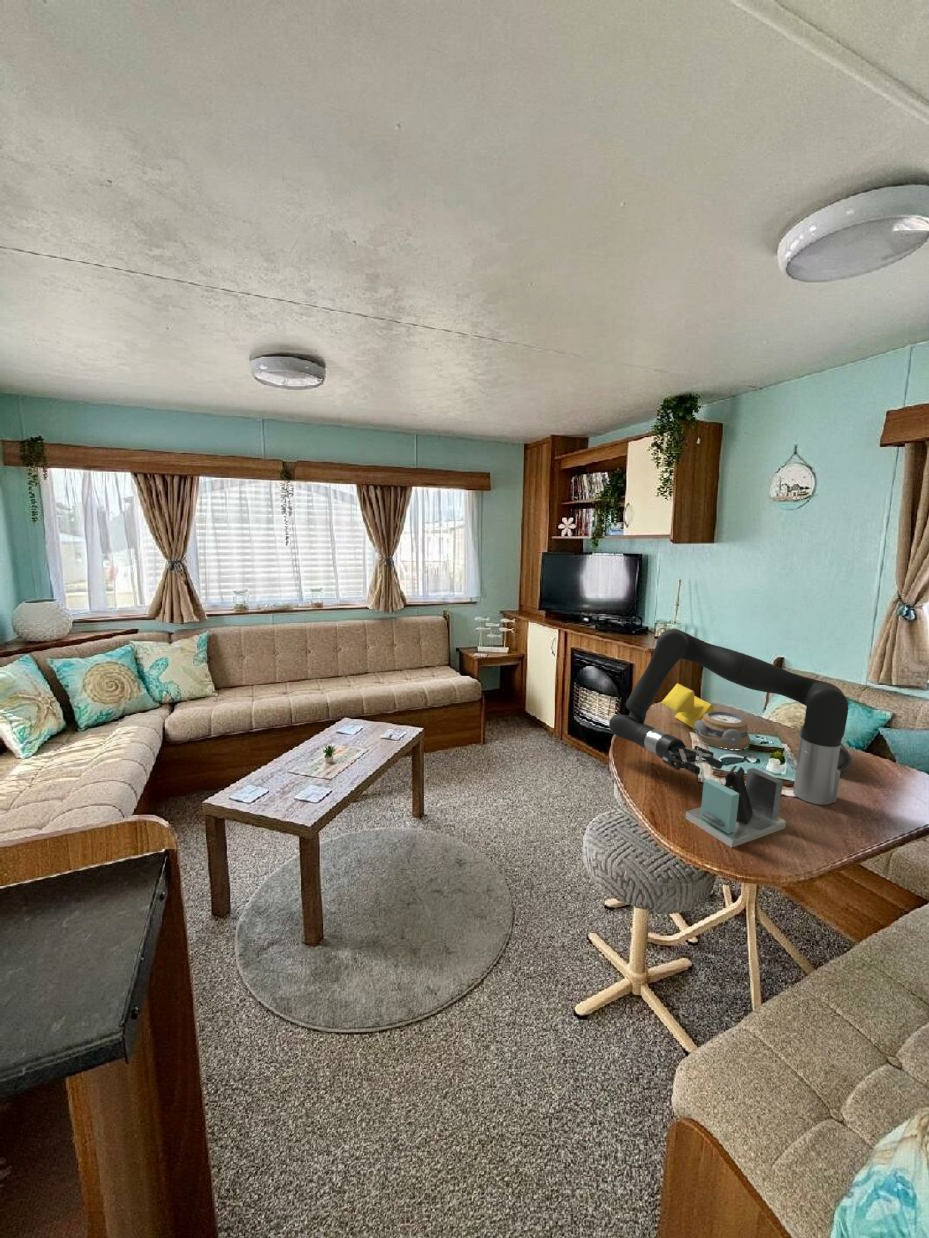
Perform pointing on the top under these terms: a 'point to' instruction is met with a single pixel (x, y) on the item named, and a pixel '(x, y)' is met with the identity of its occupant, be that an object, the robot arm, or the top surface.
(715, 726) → the alarm clock
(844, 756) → the bluetooth speaker
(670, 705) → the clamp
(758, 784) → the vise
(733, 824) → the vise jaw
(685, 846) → the top surface
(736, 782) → the phone stand
